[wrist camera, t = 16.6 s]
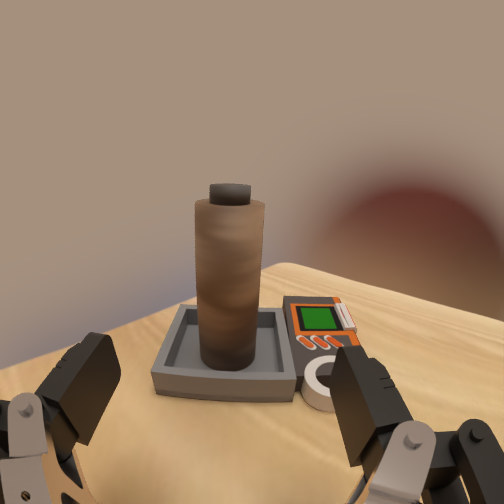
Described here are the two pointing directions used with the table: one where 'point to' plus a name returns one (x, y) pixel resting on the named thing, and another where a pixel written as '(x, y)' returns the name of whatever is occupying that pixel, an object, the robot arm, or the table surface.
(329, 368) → the electronic device
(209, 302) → the pepper mill
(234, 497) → the table surface
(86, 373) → the robot arm
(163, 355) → the tray
